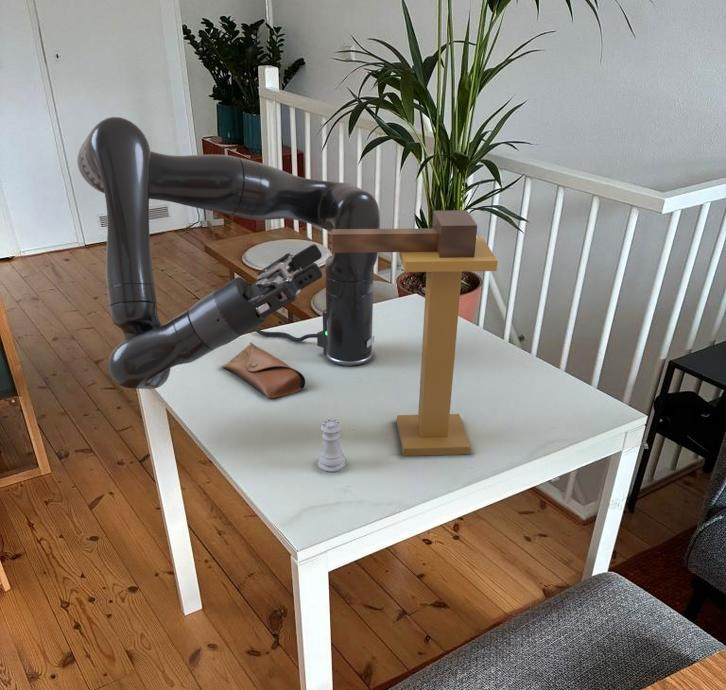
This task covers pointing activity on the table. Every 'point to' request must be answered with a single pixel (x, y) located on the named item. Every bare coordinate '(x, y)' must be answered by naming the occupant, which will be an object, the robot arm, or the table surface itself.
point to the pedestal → (439, 353)
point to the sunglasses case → (266, 372)
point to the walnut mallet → (414, 237)
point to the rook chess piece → (331, 447)
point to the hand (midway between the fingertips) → (319, 259)
